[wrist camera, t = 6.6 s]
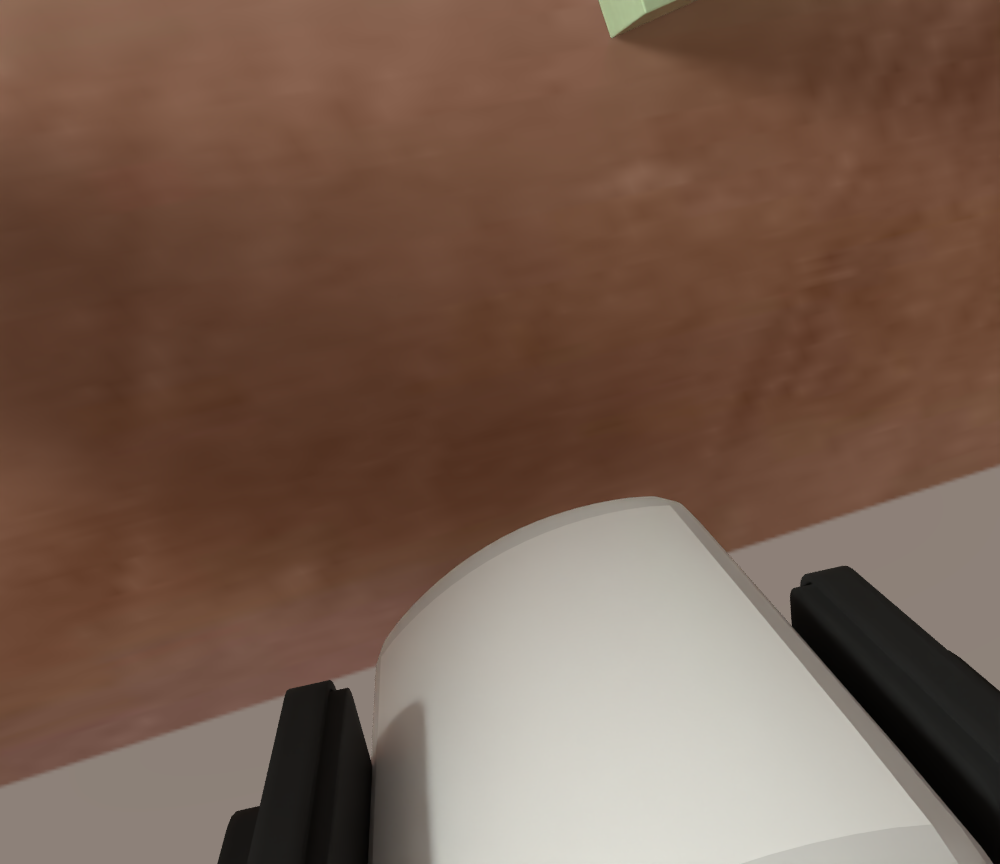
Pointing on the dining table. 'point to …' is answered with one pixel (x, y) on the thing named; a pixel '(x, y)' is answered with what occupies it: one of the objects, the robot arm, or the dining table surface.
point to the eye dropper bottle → (629, 715)
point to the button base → (635, 12)
